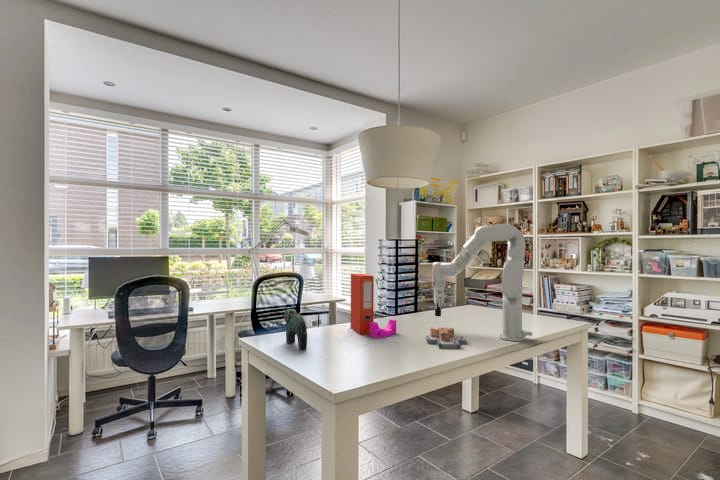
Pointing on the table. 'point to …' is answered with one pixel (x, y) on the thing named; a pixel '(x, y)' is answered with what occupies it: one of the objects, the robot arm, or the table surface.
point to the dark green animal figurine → (295, 328)
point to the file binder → (361, 302)
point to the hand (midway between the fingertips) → (437, 315)
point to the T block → (442, 333)
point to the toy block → (384, 332)
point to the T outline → (446, 345)
